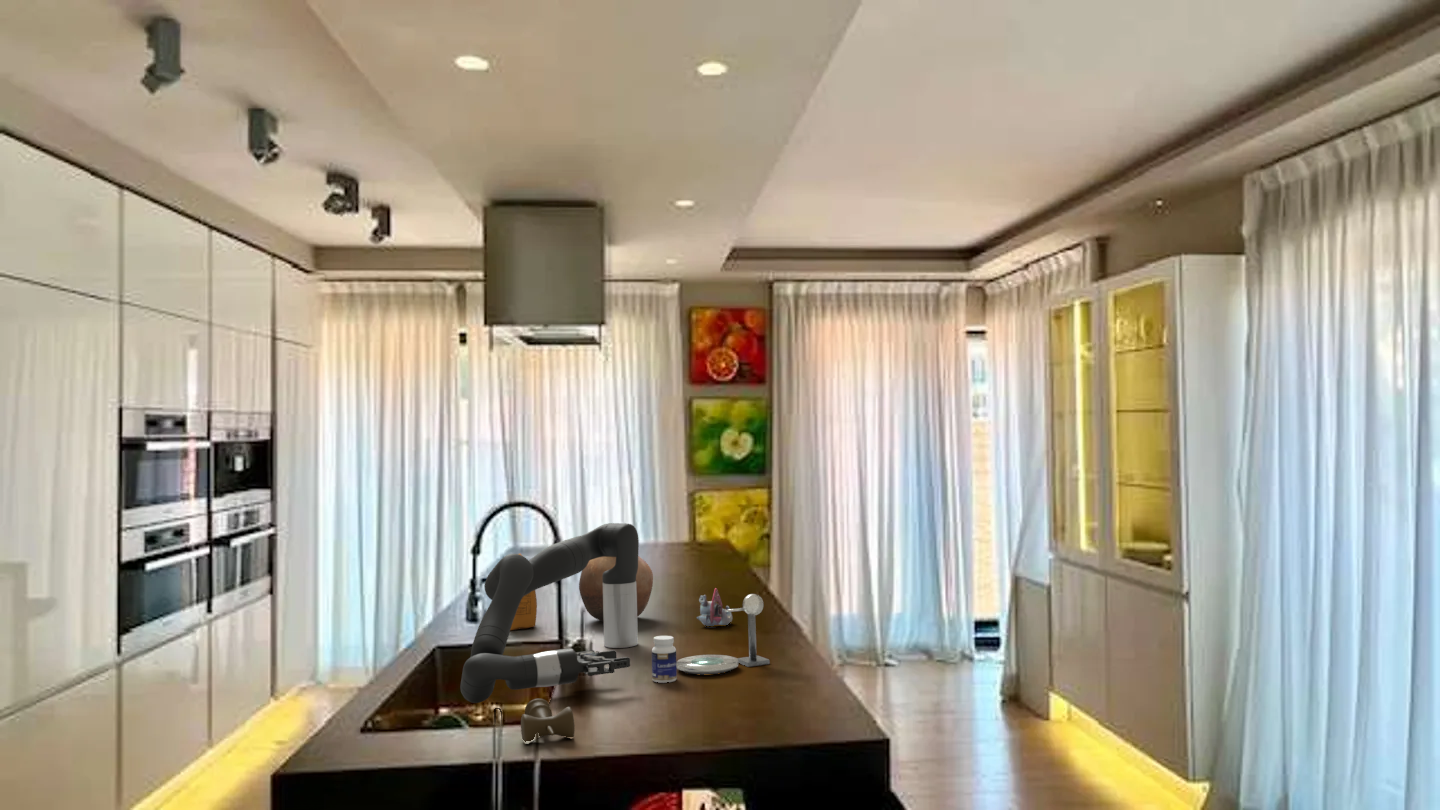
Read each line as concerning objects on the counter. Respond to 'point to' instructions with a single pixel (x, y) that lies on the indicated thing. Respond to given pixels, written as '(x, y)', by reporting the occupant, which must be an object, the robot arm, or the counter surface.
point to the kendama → (545, 721)
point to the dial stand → (752, 629)
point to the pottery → (594, 585)
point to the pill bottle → (664, 660)
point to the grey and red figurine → (713, 611)
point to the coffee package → (526, 612)
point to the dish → (707, 664)
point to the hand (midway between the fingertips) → (622, 658)
